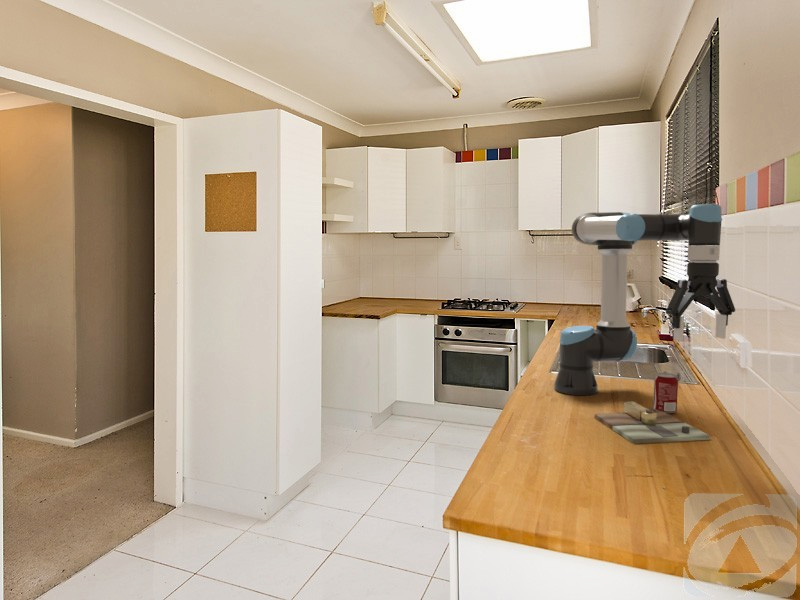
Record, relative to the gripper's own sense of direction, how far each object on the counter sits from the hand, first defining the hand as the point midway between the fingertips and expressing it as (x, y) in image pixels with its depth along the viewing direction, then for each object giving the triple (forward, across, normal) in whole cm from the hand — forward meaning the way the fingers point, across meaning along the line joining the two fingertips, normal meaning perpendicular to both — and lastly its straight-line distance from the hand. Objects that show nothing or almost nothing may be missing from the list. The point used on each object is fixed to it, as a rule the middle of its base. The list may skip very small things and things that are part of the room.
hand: (699, 339), depth 147 cm
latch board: (+27, -9, +7) cm, 30 cm away
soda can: (+27, +6, +20) cm, 34 cm away
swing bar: (+25, -9, +12) cm, 29 cm away
